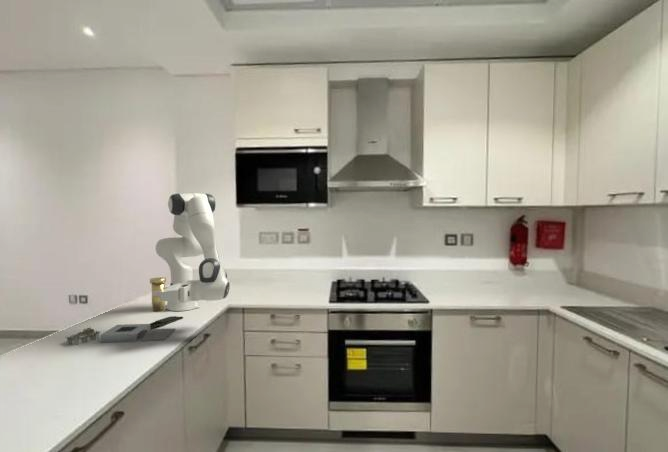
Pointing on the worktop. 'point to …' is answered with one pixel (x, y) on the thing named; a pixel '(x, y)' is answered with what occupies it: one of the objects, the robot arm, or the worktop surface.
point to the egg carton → (83, 336)
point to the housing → (125, 333)
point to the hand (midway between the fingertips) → (156, 291)
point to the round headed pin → (157, 304)
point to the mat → (158, 334)
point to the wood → (165, 321)
